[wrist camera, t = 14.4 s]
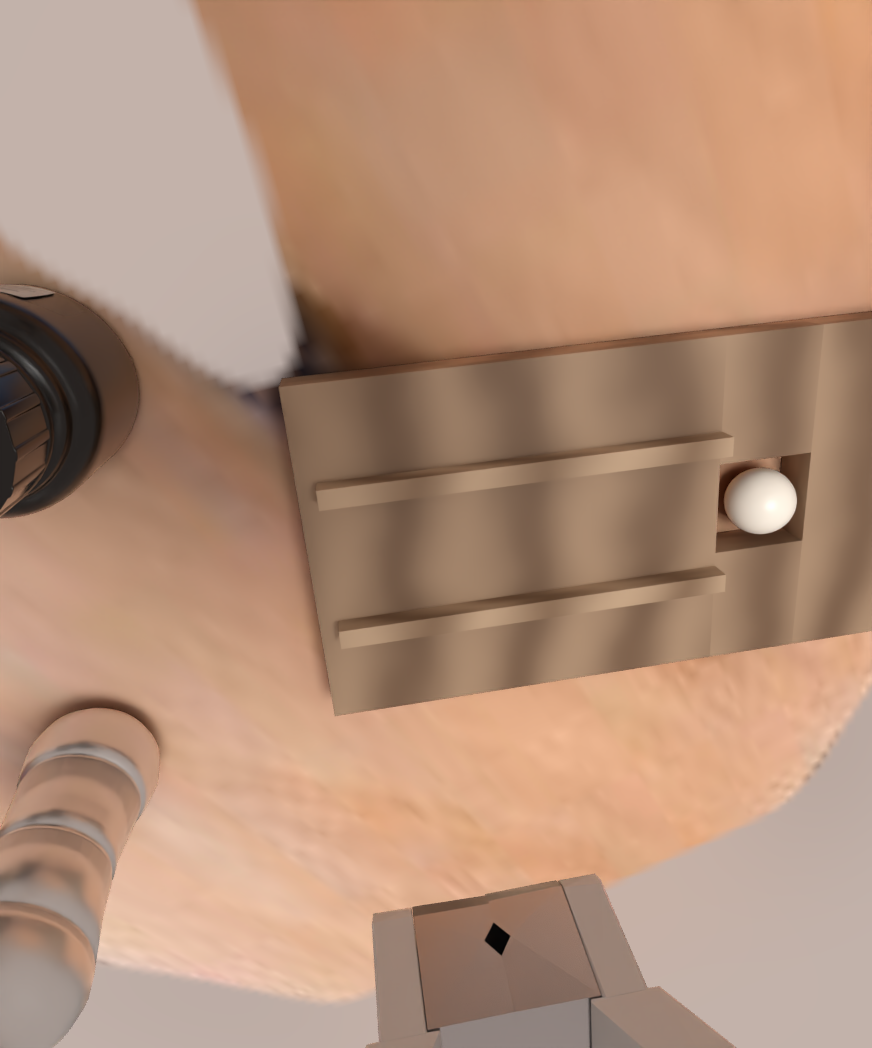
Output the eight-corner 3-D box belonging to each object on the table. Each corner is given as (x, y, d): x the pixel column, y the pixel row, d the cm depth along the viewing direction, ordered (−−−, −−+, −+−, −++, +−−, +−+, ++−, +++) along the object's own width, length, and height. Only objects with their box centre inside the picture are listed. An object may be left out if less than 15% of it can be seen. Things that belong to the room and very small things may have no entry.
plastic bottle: (56, 679, 39) (-193, 1065, 20) (182, 707, 41) (58, 1089, 22) (32, 773, 41) (-216, 1206, 22) (154, 797, 42) (17, 1219, 24)
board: (334, 690, 42) (335, 729, 38) (282, 378, 35) (276, 391, 32) (851, 610, 45) (894, 639, 41) (891, 308, 38) (947, 314, 35)
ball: (806, 480, 36) (793, 459, 39) (729, 479, 37) (723, 459, 40) (798, 545, 38) (787, 520, 41) (724, 543, 39) (719, 518, 42)
